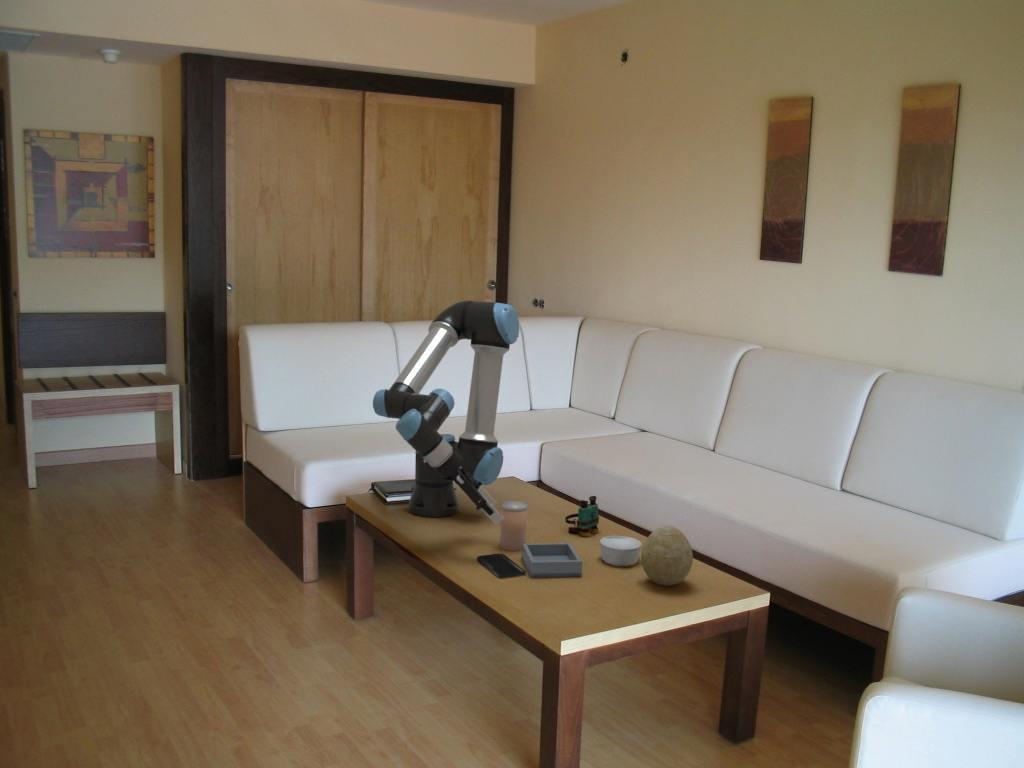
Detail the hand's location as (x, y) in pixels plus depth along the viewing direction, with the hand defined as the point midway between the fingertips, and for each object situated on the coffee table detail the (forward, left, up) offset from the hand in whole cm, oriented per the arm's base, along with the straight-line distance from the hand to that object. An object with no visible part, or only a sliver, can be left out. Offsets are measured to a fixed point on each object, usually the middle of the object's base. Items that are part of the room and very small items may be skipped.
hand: (496, 513), depth 257 cm
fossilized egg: (+27, +39, -10) cm, 49 cm away
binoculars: (-14, +27, -10) cm, 32 cm away
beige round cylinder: (-2, +5, -10) cm, 11 cm away
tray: (+14, +13, -10) cm, 22 cm away
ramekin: (+10, +32, -10) cm, 35 cm away
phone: (+14, -1, -11) cm, 17 cm away
